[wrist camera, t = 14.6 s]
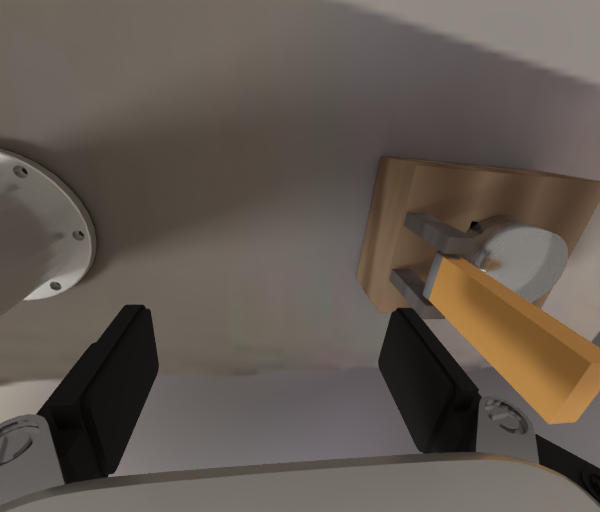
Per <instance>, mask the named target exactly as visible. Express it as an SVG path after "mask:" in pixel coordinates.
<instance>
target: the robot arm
mask: <svg viewBox="0 0 600 512" xmlns="http://www.w3.org/2000/svg"><path fill="white" fill-rule="evenodd" d="M96 243H97V241H96V235H95V229H94V226H93V224H92V221H91V219H90V216H89V214H88V212H87V211H86V209H85V207H84V206H83V204H82V202H81V201H80V200H79V198H78V197H77V196H76V195H75V194H74V193H73V191H72V190H71V189H70V188H69V187H68V186H67V185H66V184H65V183H64V182H62V181H61V180H60V179H59V178H58V177H57V176H56V175H54V174H53V173H51V172H50V171H48V170H47V169H45V168H44V167H42V166H41V165H39V164H38V163H36V162H34V161H32V160H30V159H27V158H25V157H23V156H21V155H19V154H16V153H13V152H10V151H7V150H4V149H1V148H0V316H2V315H3V314H4V313H6V312H7V311H8V310H10V309H11V308H12V307H14V306H15V305H16V304H18V303H19V302H20V301H22V300H38V299H44V298H49V297H53V296H56V295H58V294H61V293H63V292H65V291H67V290H68V289H70V288H71V287H73V286H74V285H75V284H77V283H78V282H79V281H80V280H81V279H82V278H83V277H84V276H85V275H86V274H87V272H88V271H89V269H90V268H91V266H92V264H93V261H94V258H95V255H96ZM378 365H379V369H380V371H381V373H382V375H383V377H384V380H385V381H386V384H387V386H388V388H389V390H390V392H391V394H392V396H393V398H394V401H395V403H396V405H397V407H398V409H399V411H400V413H401V415H402V418H403V420H404V422H405V424H406V426H407V428H408V430H409V432H410V434H411V437H412V439H413V441H414V443H415V445H416V447H417V449H418V450H419V451H420V452H423V454H407V455H392V456H377V457H361V458H346V459H333V460H318V461H304V462H290V463H276V464H263V465H249V466H235V467H223V468H209V469H197V470H184V471H171V472H159V473H149V474H139V475H128V476H118V477H108V475H109V474H113V473H114V472H115V471H116V469H117V467H118V465H119V463H120V460H121V458H122V456H123V453H124V451H125V449H126V446H127V444H128V441H129V439H130V437H131V435H132V432H133V430H134V427H135V425H136V423H137V420H138V418H139V416H140V413H141V411H142V408H143V406H144V404H145V401H146V399H147V397H148V394H149V392H150V390H151V387H152V385H153V382H154V380H155V378H156V376H157V373H158V368H159V363H158V356H157V350H156V343H155V337H154V330H153V323H152V317H151V311H150V309H146V308H145V306H144V305H125V306H124V307H123V308H122V309H121V311H120V312H119V313H118V315H117V316H116V317H115V319H114V320H113V321H112V323H111V324H110V325H109V326H108V328H107V329H106V330H105V332H104V333H103V334H102V336H101V337H100V338H99V340H98V341H97V342H95V343H93V344H91V345H90V346H89V347H88V349H87V350H86V351H85V353H84V354H83V355H82V356H81V358H80V359H79V360H78V361H77V363H76V364H75V365H74V367H73V368H72V369H71V370H70V372H69V373H68V374H67V376H66V377H65V378H64V379H63V381H62V382H61V383H60V384H59V386H58V387H57V388H56V390H55V391H54V392H53V394H52V395H51V396H50V397H49V399H48V400H47V401H46V402H45V404H44V405H43V406H42V408H41V409H40V410H39V411H38V413H37V414H36V415H29V414H28V415H23V416H18V417H15V418H12V419H9V420H7V421H4V422H2V423H1V424H0V512H600V468H598V467H596V466H594V465H592V464H590V463H588V462H587V461H585V460H583V459H581V458H579V457H577V456H576V455H574V454H572V453H570V452H568V451H566V450H565V449H562V448H561V447H559V446H557V445H555V444H553V443H551V442H550V441H548V440H546V439H544V438H542V437H540V436H539V435H537V434H535V430H534V427H533V424H532V422H531V421H530V420H529V418H528V416H527V415H525V413H523V411H521V410H520V409H519V408H518V407H516V406H515V405H514V404H512V403H510V402H508V401H507V400H505V399H502V398H499V397H496V396H485V397H483V398H482V397H481V396H480V395H479V393H478V391H479V389H478V388H477V387H476V385H475V384H474V383H473V382H472V380H471V379H470V378H469V377H468V376H467V374H466V373H465V372H464V371H463V369H462V368H461V367H460V366H459V364H458V363H457V362H456V361H455V359H454V358H453V357H452V356H451V355H450V353H449V352H448V351H447V350H446V348H445V347H444V346H443V345H442V343H441V342H440V341H439V340H438V339H437V337H436V336H435V335H434V334H433V332H432V331H431V330H430V329H429V327H428V326H427V325H426V324H425V322H424V321H423V320H422V319H421V318H420V316H419V315H418V314H417V313H416V311H415V310H414V309H413V308H397V309H396V310H395V311H393V312H392V314H391V317H390V321H389V324H388V328H387V331H386V335H385V339H384V342H383V346H382V349H381V353H380V356H379V360H378Z"/></svg>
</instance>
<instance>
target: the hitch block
mask: <svg viewBox="0 0 600 512" xmlns="http://www.w3.org/2000/svg"><path fill="white" fill-rule="evenodd" d="M599 201H600V181H596V180H590V179H584V178H578V177H572V176H566V175H560V174H554V173H548V172H542V171H535V170H524V169H513V168H502V167H492V166H481V165H470V164H459V163H449V162H438V161H427V160H416V159H406V158H395V157H384V156H381V158H380V163H379V168H378V173H377V178H376V183H375V188H374V193H373V198H372V203H371V208H370V212H369V217H368V222H367V227H366V232H365V237H364V242H363V247H362V252H361V257H360V262H359V267H358V271H357V276H356V279H357V280H358V282H359V283H360V285H361V286H362V288H363V290H364V291H365V293H366V294H367V296H368V297H369V299H370V301H371V302H372V304H373V305H374V307H375V308H376V310H377V312H378V313H392V312H393V311H395V310H396V309H397V308H413V309H414V310H415V311H416V313H417V314H418V315H419V316H420V317H421V319H445V316H444V315H443V314H442V313H441V312H440V311H439V310H438V309H437V308H436V307H435V306H434V305H433V304H432V303H431V302H430V301H429V300H428V299H426V298H425V297H424V296H423V291H424V288H425V285H426V281H427V278H428V275H429V272H430V269H431V266H432V263H433V260H434V257H435V254H436V251H437V250H439V251H441V252H442V253H444V254H465V255H469V253H470V251H471V248H472V245H473V243H474V240H475V238H473V237H471V236H469V235H467V234H465V232H466V231H467V230H468V229H469V228H470V225H471V222H472V221H477V222H479V221H481V220H483V219H485V218H488V217H491V216H497V215H504V216H509V217H512V218H514V219H517V220H520V221H522V222H525V223H528V224H530V225H533V226H536V227H539V228H541V229H544V230H547V231H549V232H552V233H555V234H557V235H559V236H560V237H561V238H562V239H563V240H564V241H565V243H566V245H567V249H568V258H569V256H570V255H571V253H572V251H573V249H574V247H575V245H576V243H577V242H578V240H579V238H580V236H581V234H582V232H583V231H584V229H585V227H586V225H587V223H588V221H589V220H590V218H591V216H592V214H593V212H594V210H595V208H596V207H597V205H598V203H599ZM552 288H553V287H552ZM552 288H551V289H552ZM551 289H550V290H549V291H548V292H547V293H546V294H544V295H543V296H542V297H540V298H539V299H537V300H536V301H534V302H532V304H533V305H535V306H536V307H538V308H539V309H541V308H542V306H543V304H544V302H545V301H546V299H547V297H548V295H549V293H550V291H551Z"/></svg>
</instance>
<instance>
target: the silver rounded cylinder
mask: <svg viewBox="0 0 600 512" xmlns="http://www.w3.org/2000/svg"><path fill="white" fill-rule="evenodd" d="M465 234H467V235H469V236H471V237H473V238H475V240H474V243H473V245H472V248H471V251H470V253H469V255H465V254H458V255H460V256H461V257H462V258H463V259H465V260H466V261H468V262H469V263H471V264H472V265H474V266H475V267H477V268H478V269H480V270H481V271H483V272H484V273H486V274H488V275H489V276H491V277H492V278H494V279H495V280H497V281H498V282H500V283H501V284H503V285H504V286H506V287H507V288H509V289H510V290H512V291H513V292H515V293H516V294H518V295H520V296H521V297H523V298H524V299H526V300H527V301H529V302H530V303H532V302H534V301H536V300H537V299H539V298H540V297H542V296H543V295H544V294H546V293H547V292H548V291H549V290H550V289H551V288H552V287H553V286H554V285H555V284H556V282H557V281H558V280H559V278H560V277H561V275H562V273H563V271H564V269H565V267H566V264H567V260H568V249H567V245H566V243H565V241H564V240H563V239H562V238H561V237H560V236H559V235H557V234H555V233H552V232H549V231H547V230H544V229H541V228H539V227H536V226H533V225H530V224H528V223H525V222H522V221H520V220H517V219H514V218H512V217H509V216H504V215H497V216H491V217H488V218H485V219H483V220H481V221H479V222H477V221H472V222H471V225H470V228H469V229H468V230H467V231H466V232H465Z"/></svg>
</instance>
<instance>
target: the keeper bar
mask: <svg viewBox="0 0 600 512" xmlns="http://www.w3.org/2000/svg"><path fill="white" fill-rule="evenodd" d="M423 296H424V297H425V298H426V299H428V300H429V301H430V302H431V303H432V304H433V305H434V306H435V307H436V308H437V309H438V310H439V311H440V312H441V313H442V314H443V315H444V316H445V317H446V318H447V319H448V320H449V322H450V323H451V324H452V325H453V326H454V327H455V328H456V329H457V330H458V331H459V332H460V333H461V334H462V335H463V336H464V337H465V338H466V339H467V340H468V341H469V342H470V343H471V344H472V345H473V346H474V347H475V348H476V349H477V350H478V351H479V352H480V354H481V355H482V356H483V357H484V358H485V359H486V360H487V361H488V362H489V363H490V364H491V365H492V366H493V367H494V368H495V369H496V370H497V371H498V372H499V373H500V374H501V375H502V376H503V377H504V378H505V379H506V380H507V381H508V382H509V383H510V384H511V386H512V387H513V388H514V389H515V390H516V391H517V392H518V393H519V394H520V395H521V396H522V397H523V398H524V399H525V400H526V401H527V402H528V403H529V404H530V405H531V406H532V407H533V408H534V409H535V410H536V411H537V412H538V413H539V414H540V415H541V416H542V418H543V419H545V421H547V423H548V424H557V423H570V422H576V421H577V420H578V418H579V417H580V416H581V414H582V413H583V412H584V411H585V409H586V408H587V407H588V405H589V404H590V403H591V401H592V400H593V399H594V397H595V396H596V395H597V393H598V392H599V391H600V348H599V347H597V346H596V345H594V344H593V343H591V342H590V341H588V340H587V339H585V338H584V337H582V336H580V335H579V334H577V333H576V332H574V331H573V330H571V329H570V328H568V327H567V326H565V325H564V324H562V323H561V322H559V321H558V320H556V319H555V318H553V317H552V316H550V315H548V314H547V313H545V312H544V311H542V310H541V309H539V308H538V307H536V306H535V305H533V304H532V303H530V302H529V301H527V300H526V299H524V298H523V297H521V296H520V295H518V294H516V293H515V292H513V291H512V290H510V289H509V288H507V287H506V286H504V285H503V284H501V283H500V282H498V281H497V280H495V279H494V278H492V277H491V276H489V275H488V274H486V273H484V272H483V271H481V270H480V269H478V268H477V267H475V266H474V265H472V264H471V263H469V262H468V261H466V260H465V259H463V258H462V257H461V256H460V255H458V254H444V253H442V252H441V251H439V250H437V251H436V254H435V257H434V260H433V263H432V266H431V269H430V272H429V275H428V278H427V281H426V285H425V288H424V291H423Z"/></svg>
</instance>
